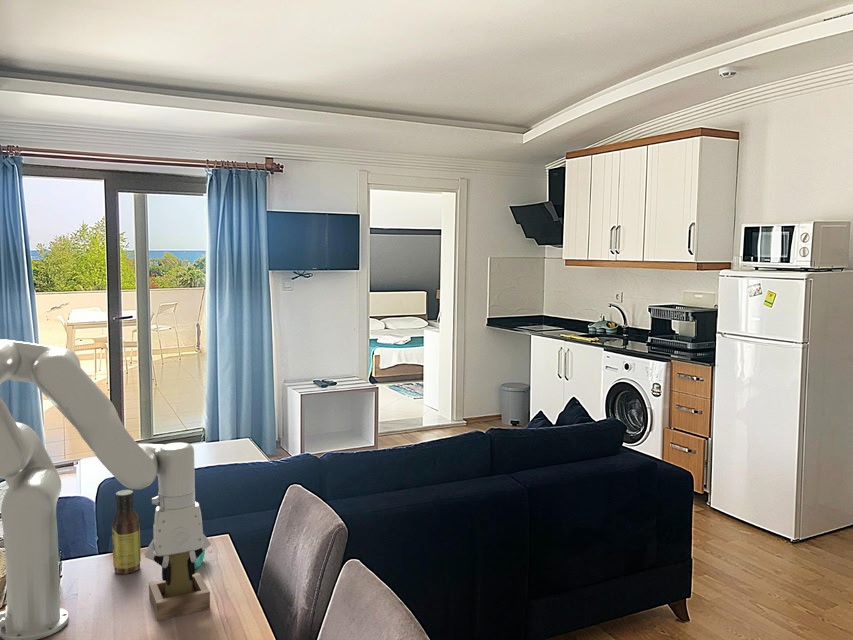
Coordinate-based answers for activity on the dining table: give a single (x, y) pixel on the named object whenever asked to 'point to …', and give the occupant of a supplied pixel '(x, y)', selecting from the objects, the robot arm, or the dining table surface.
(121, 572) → the sauce bottle
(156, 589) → the shaker holder
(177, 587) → the cork
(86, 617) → the dining table surface
